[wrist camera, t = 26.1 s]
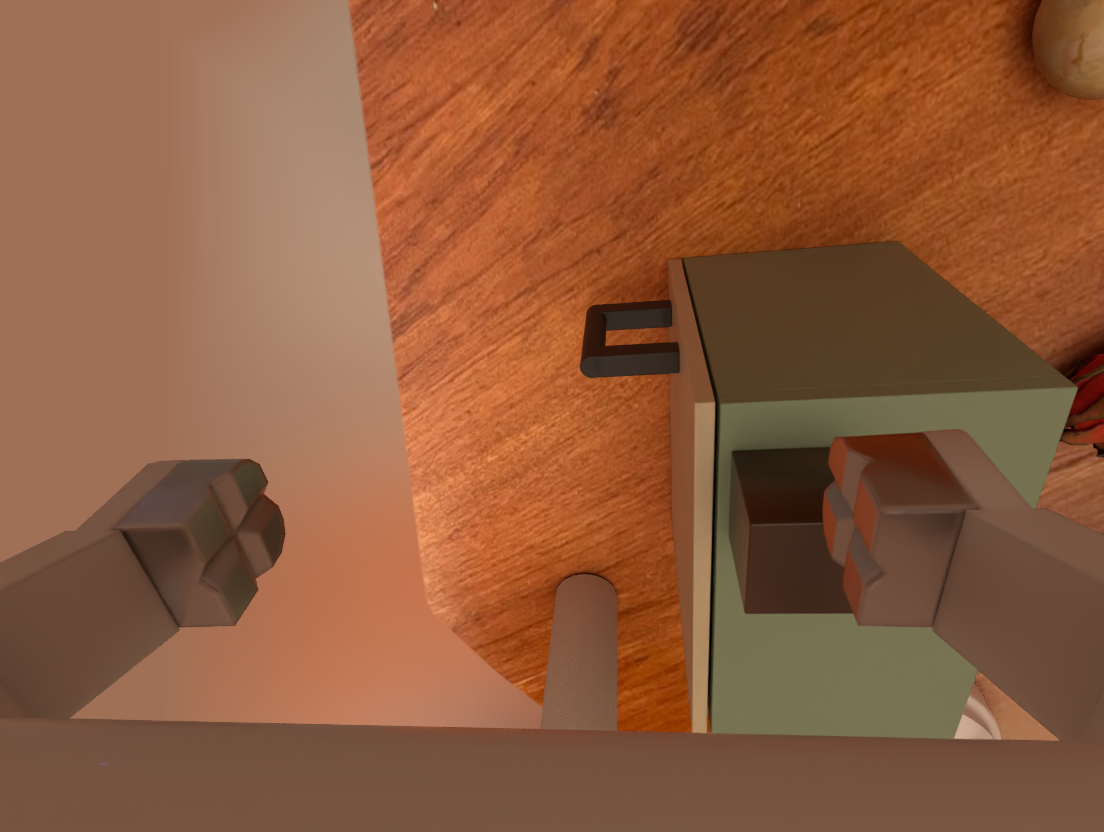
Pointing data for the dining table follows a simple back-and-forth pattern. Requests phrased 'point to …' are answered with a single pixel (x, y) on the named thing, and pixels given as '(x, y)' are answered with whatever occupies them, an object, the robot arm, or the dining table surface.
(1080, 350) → the dining table surface
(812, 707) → the cupboard
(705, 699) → the cupboard door
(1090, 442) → the dragon fruit
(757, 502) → the block
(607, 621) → the paper towel roll
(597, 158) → the dining table surface
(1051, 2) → the onion
